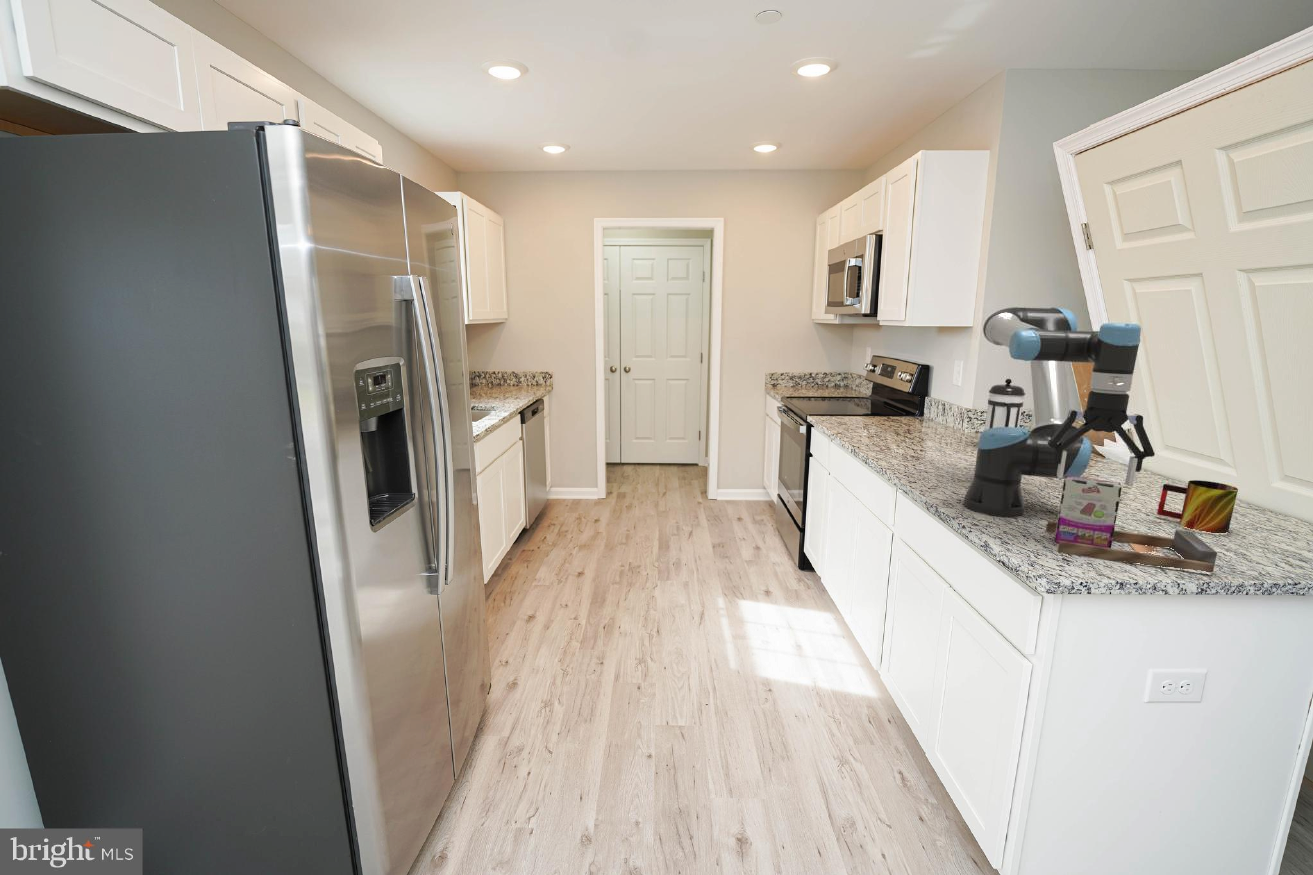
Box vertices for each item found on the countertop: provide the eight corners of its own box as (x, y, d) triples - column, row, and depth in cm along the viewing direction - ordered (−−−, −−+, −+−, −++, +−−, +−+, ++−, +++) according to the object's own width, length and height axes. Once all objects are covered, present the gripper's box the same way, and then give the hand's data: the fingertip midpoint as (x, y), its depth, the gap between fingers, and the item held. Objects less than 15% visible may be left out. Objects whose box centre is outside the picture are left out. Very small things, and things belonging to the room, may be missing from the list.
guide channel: (1058, 552, 139) (1062, 532, 138) (1046, 530, 154) (1049, 511, 153) (1214, 576, 128) (1219, 554, 127) (1185, 549, 143) (1189, 530, 141)
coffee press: (967, 448, 250) (977, 376, 244) (997, 446, 255) (1007, 376, 249) (1002, 457, 234) (1013, 381, 228) (1033, 455, 239) (1045, 381, 233)
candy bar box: (1108, 547, 143) (1121, 481, 140) (1110, 553, 139) (1123, 486, 136) (1053, 536, 149) (1064, 473, 146) (1053, 542, 145) (1064, 478, 142)
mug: (1155, 517, 166) (1163, 476, 164) (1219, 526, 160) (1229, 483, 158) (1165, 528, 158) (1174, 484, 155) (1234, 537, 152) (1244, 492, 149)
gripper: (1048, 389, 138) (1034, 477, 142) (1184, 397, 128) (1165, 492, 132) (1042, 386, 145) (1029, 470, 149) (1171, 394, 135) (1153, 484, 139)
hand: (1093, 481), depth 140 cm, fingers open, 13 cm apart
